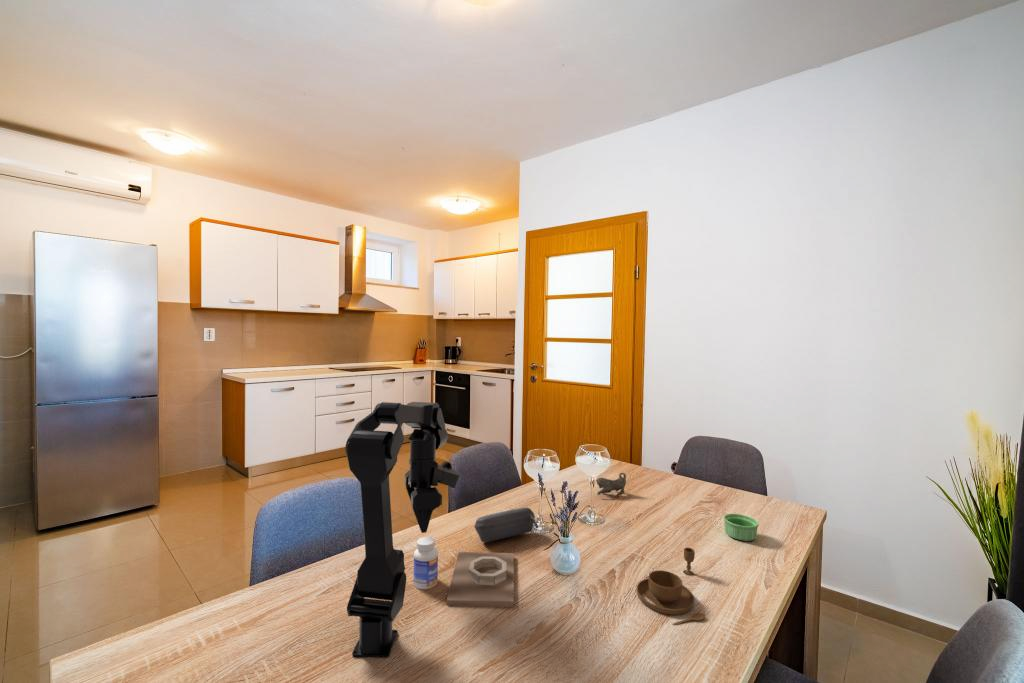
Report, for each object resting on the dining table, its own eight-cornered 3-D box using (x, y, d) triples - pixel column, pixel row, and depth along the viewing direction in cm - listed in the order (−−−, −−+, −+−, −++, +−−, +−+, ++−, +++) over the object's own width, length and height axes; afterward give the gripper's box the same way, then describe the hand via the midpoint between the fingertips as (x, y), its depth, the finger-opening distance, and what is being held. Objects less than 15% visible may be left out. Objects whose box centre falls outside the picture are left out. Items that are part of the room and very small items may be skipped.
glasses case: (524, 525, 130) (524, 499, 130) (543, 541, 121) (544, 513, 121) (468, 538, 122) (468, 510, 121) (484, 556, 112) (485, 525, 112)
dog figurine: (621, 490, 161) (621, 470, 161) (629, 496, 156) (629, 475, 156) (591, 492, 158) (591, 472, 158) (598, 498, 153) (598, 477, 153)
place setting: (618, 582, 102) (618, 557, 102) (687, 568, 109) (688, 545, 109) (668, 631, 86) (669, 602, 86) (746, 611, 93) (747, 584, 92)
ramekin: (727, 539, 124) (727, 524, 124) (720, 526, 133) (720, 511, 132) (762, 544, 122) (762, 528, 122) (752, 530, 130) (753, 515, 130)
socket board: (513, 607, 92) (513, 592, 92) (446, 605, 92) (446, 590, 92) (513, 557, 112) (513, 545, 112) (458, 556, 112) (458, 544, 112)
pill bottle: (432, 591, 96) (432, 548, 96) (409, 588, 98) (409, 545, 97) (441, 578, 102) (441, 536, 102) (419, 575, 103) (419, 534, 103)
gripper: (466, 465, 95) (464, 537, 95) (449, 445, 113) (448, 506, 113) (413, 468, 92) (412, 543, 92) (405, 447, 109) (403, 510, 109)
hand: (421, 524), depth 101 cm, fingers open, 9 cm apart
